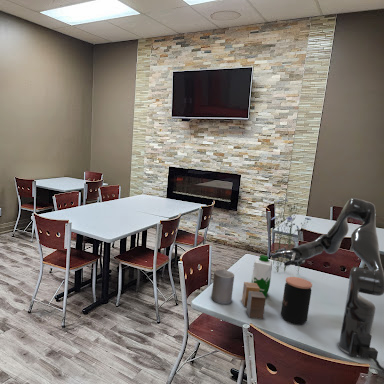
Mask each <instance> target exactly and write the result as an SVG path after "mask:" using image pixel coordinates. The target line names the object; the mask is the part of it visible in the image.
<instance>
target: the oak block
mask: <svg viewBox="0 0 384 384" xmlns="http://www.w3.org/2000/svg"><path fill="white" fill-rule="evenodd" d="M249 291H255V292H259V291H260V288H259V286H258V285H257V283H252V282H249V281H243V287H242V295H241V302H242V305H243V307H245V308H247V301H248V293H249Z"/></svg>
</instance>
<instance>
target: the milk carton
mask: <svg viewBox="0 0 384 384" xmlns="http://www.w3.org/2000/svg"><path fill="white" fill-rule="evenodd" d="M252 267H253V269H252V275H251V283H257V285H258V286H259V288H260V291H259V292H262V293H263V294H264V296H265V298H266V299H267V296H268V293H269V289H270V286H271V281H272V280H271V279H272V273H273V272H272V270H273V260H271V259H269V256H268V255H264V254H261V255H259V257H256V258H255V260H254V262H253V266H252Z"/></svg>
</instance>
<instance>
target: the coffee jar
mask: <svg viewBox="0 0 384 384" xmlns="http://www.w3.org/2000/svg"><path fill="white" fill-rule="evenodd" d="M312 287H313V283H312V282H311V281H309V280H308V279H305V278H302V277H298V276H287V277H286V278H285V283H284V288H283V296H282V302H281V309H280V315H281V317H282V319H283V320H284V321H286V322H287V323H289V324H293V325H297V326H301V325H305V324H306V323H307V322H308V316H309V311H310V310H309V309H310V303H311V296H312Z"/></svg>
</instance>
